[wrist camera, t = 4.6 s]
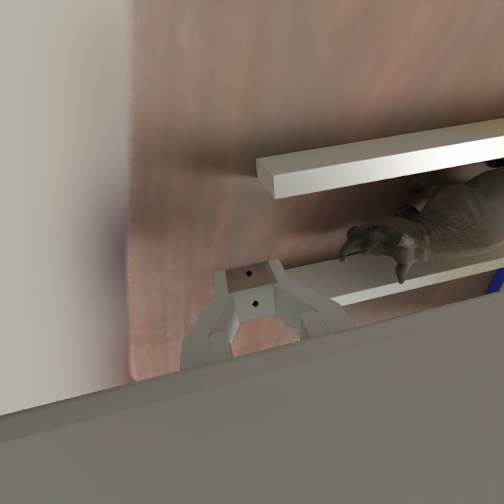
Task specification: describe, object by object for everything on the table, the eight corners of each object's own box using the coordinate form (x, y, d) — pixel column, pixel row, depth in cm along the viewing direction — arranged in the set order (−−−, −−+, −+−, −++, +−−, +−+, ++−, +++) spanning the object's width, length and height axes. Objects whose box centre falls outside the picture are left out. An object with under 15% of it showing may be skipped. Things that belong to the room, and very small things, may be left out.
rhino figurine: (313, 206, 14) (373, 260, 9) (518, 131, 14) (689, 145, 9) (320, 255, 17) (371, 319, 12) (495, 191, 16) (622, 228, 11)
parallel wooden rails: (255, 158, 12) (273, 175, 9) (585, 104, 14) (686, 104, 11) (267, 283, 17) (281, 320, 14) (507, 230, 19) (562, 253, 16)
